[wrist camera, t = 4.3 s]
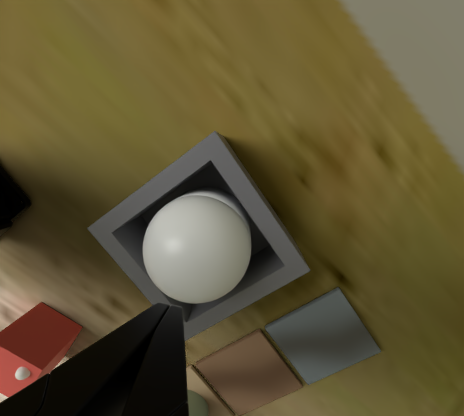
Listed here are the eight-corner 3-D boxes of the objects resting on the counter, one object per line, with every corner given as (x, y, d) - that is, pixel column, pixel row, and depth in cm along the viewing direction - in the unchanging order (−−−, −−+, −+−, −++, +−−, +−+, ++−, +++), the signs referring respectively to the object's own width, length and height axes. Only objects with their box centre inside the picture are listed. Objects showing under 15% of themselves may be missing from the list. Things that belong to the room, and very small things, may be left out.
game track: (136, 394, 21) (134, 397, 21) (338, 287, 17) (339, 289, 17) (179, 439, 22) (178, 443, 22) (379, 348, 18) (381, 351, 18)
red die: (24, 333, 20) (-37, 382, 16) (41, 302, 19) (-19, 345, 15) (63, 356, 21) (15, 411, 16) (82, 327, 20) (36, 376, 15)
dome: (148, 218, 16) (92, 256, 10) (217, 168, 15) (197, 180, 9) (199, 282, 17) (174, 349, 11) (267, 240, 16) (278, 291, 10)
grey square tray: (123, 210, 17) (86, 228, 13) (223, 136, 15) (215, 130, 11) (197, 301, 18) (183, 341, 14) (295, 242, 17) (310, 270, 13)
